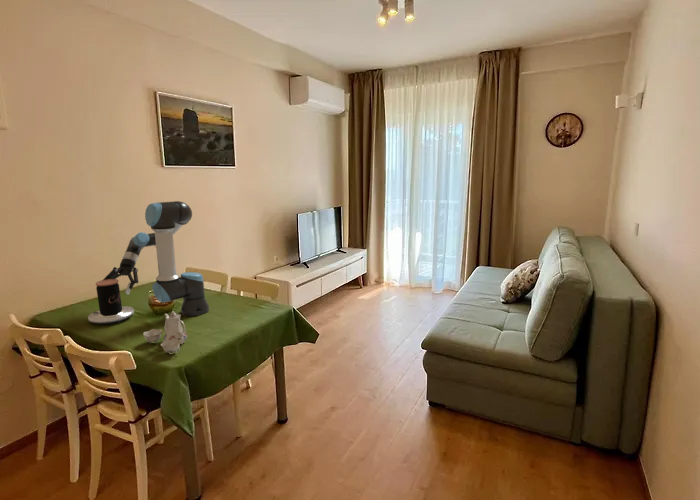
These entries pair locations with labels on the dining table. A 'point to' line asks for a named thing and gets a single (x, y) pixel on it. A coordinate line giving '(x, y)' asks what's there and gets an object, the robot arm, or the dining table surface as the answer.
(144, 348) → the dining table surface
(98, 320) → the disc
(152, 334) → the chinaware
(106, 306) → the coffee jar
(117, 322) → the turntable base
